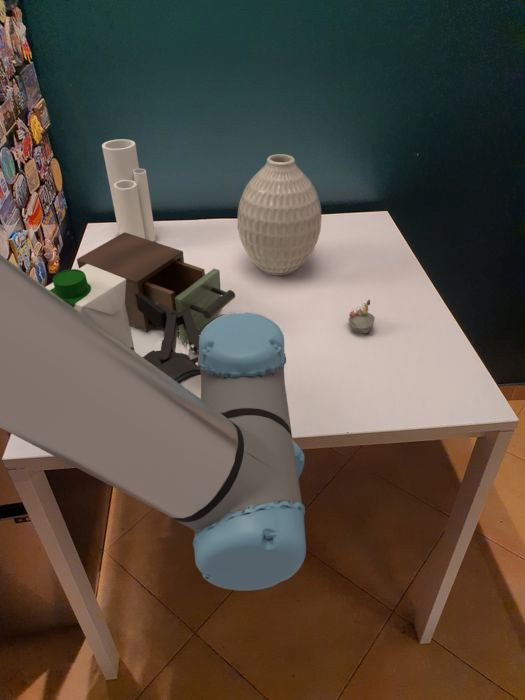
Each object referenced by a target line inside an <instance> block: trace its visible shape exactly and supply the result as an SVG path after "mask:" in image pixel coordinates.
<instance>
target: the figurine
mask: <svg viewBox="0 0 525 700" xmlns="http://www.w3.org/2000/svg"><path fill="white" fill-rule="evenodd" d="M369 306H371V300H370V299H368V300H366V302H363V303H362V304H361V307H359V306H357V307H356V308H354V309H352V310H351V311H350V312H349V314H348V316H349V317H348V324H349V326H350V327H351V328H352V329H354V331H356V332H358V333H361V334H368V333H369V332H370V330H371V329H372V327H373V326H374V323H375V320H376V318H375V316H374V314H372V313H370V312H369Z"/></svg>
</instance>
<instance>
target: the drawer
mask: <svg viewBox="0 0 525 700" xmlns="http://www.w3.org/2000/svg"><path fill="white" fill-rule="evenodd" d="M221 287H222V286H221V271H220V269H218V268H212V269H211V270H210V271H209V272H207V273H206V270H205V269H204V268H201V267H199V266H197V265H193V264H190V263H187V262H185V261H184V262H181V261H178V260H176V261H175V262H173V263H172V264H170V265H169V266H167V267H166V268H164V269H163V270H161V271H160V272H158V273H157V274H155V275H154V276H152V277H151V278H150V279H148V280H147V281H145V282H144V283H142V288H143V294H144V296H146V297H147V298H148V299H150V300H151V301H152V302H154V303H155V304H158V303H161V304H163V305H165V306H166V307H167V308H169V309H170V310H174V311H176V312H180V311H181V309H182V308H184V307H188V308H190V311H191V314H192V317H193V320H194V323H195V326H196V329H197V332H199V331H200V330H202V328H204V327H205V326H207V325H208V324H209V323H210V322H211V321H212V320H213V319H215V317H216V316H218V315H219V314H220V313H221V312H222V311H223V308H224V307H225V306H227V305H228V304H229V303H230V302H232V301H233V300H235V298H236V293H235V292H234V291H233V290H231V289H228V290H226V291H225V290H222V288H221ZM148 321H149V322H152V323H154V324H156V323H155V322H153V321H152V320H151V319H149V318H148ZM156 325H157V324H156ZM178 328H179V331H178V332H179V334H178V335H179V340H180V341H183V342H188V340H187V336H186V333H185V330H184V326H183V325H178Z"/></svg>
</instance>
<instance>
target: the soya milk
mask: <svg viewBox="0 0 525 700" xmlns="http://www.w3.org/2000/svg"><path fill="white" fill-rule="evenodd" d="M45 287H46V288H47V289H48V290H50V291H51V292H53V293H54V294H55V295H57V296H58V297H60V298H61V299H62V300H64V301H65V302H66V303H68V304H69V305H71V306H72V307H73V308H75V309H76V310H78V311H79V312H80V313H82V314H83V315H85V316H86V317H87V318H89V319H90V320H91V321H93V322H94V323H96V324H97V325H98V326H100V327H101V328H103V329H104V330H105V331H107V332H108V333H110V334H111V335H112V336H114V337H115V338H116V339H118V340H119V341H121V342H122V343H123V344H125V345H126V346H128V347H129V348H130V349H132V350H133V351H135V352H136V350H135V346H134V342H133V336H132V331H131V326H130V325H129V321H128V316H127V311H126V306H125V291H126V279H125V278H122V277H120V276H117V275H115V274H112V273H109V272H107V271H104V270H102V269H99V268H97V267H94V266H92V265H89V264H86V265H84V266H83V267H81V268H79V267H78V268H72V269H71V268H70V269H69V268H68V269H64V270H61V271H59V272H58V273H56V274H54V276H53V277H52V282H51V283H49V284H48V285H46V286H45Z"/></svg>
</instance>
